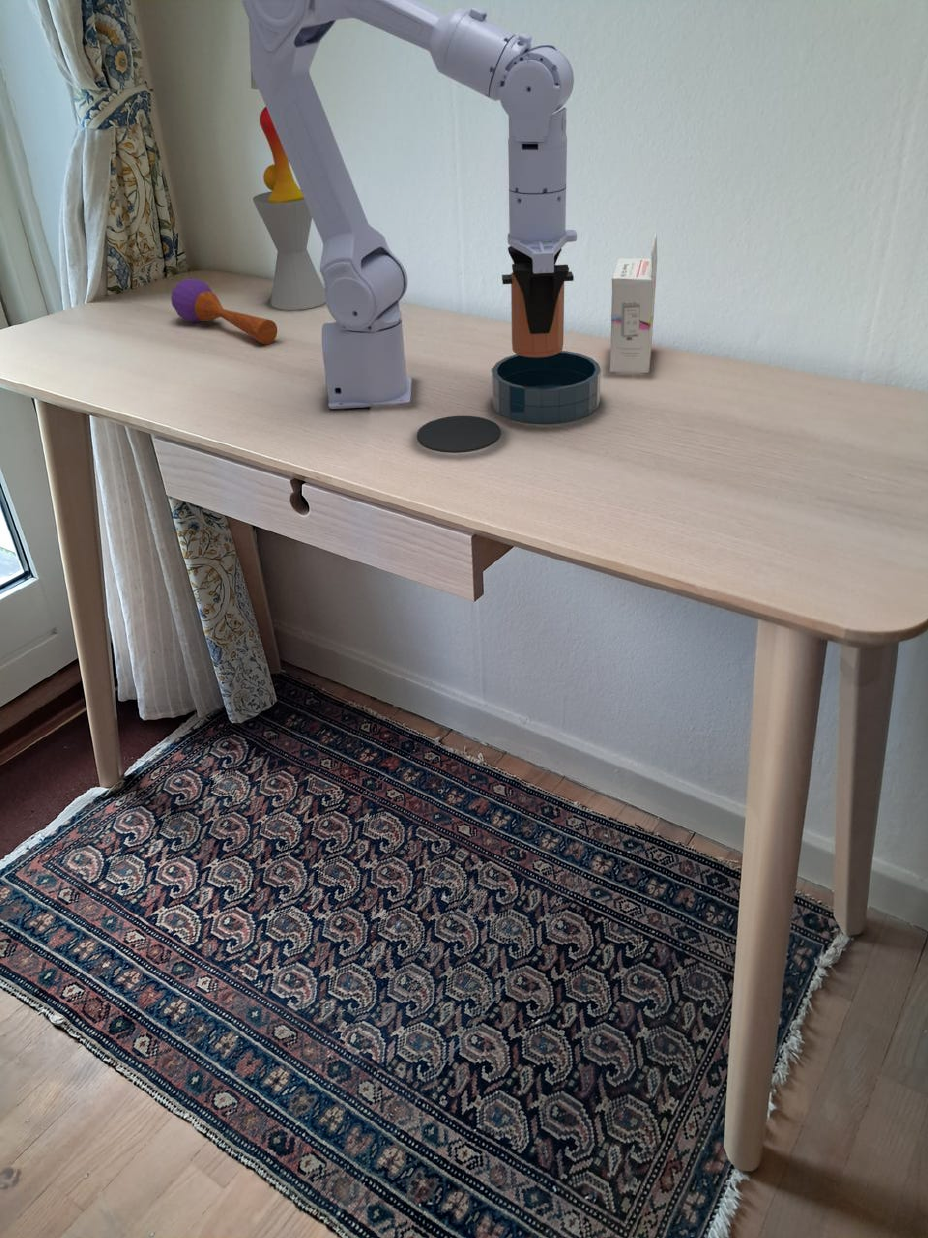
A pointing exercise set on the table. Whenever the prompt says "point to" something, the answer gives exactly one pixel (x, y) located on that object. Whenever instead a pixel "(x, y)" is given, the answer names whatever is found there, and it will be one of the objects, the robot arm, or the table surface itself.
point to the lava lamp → (287, 229)
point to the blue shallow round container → (546, 388)
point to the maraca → (217, 310)
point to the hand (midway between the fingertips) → (537, 323)
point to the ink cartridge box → (633, 312)
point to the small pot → (521, 335)
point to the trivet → (458, 434)
